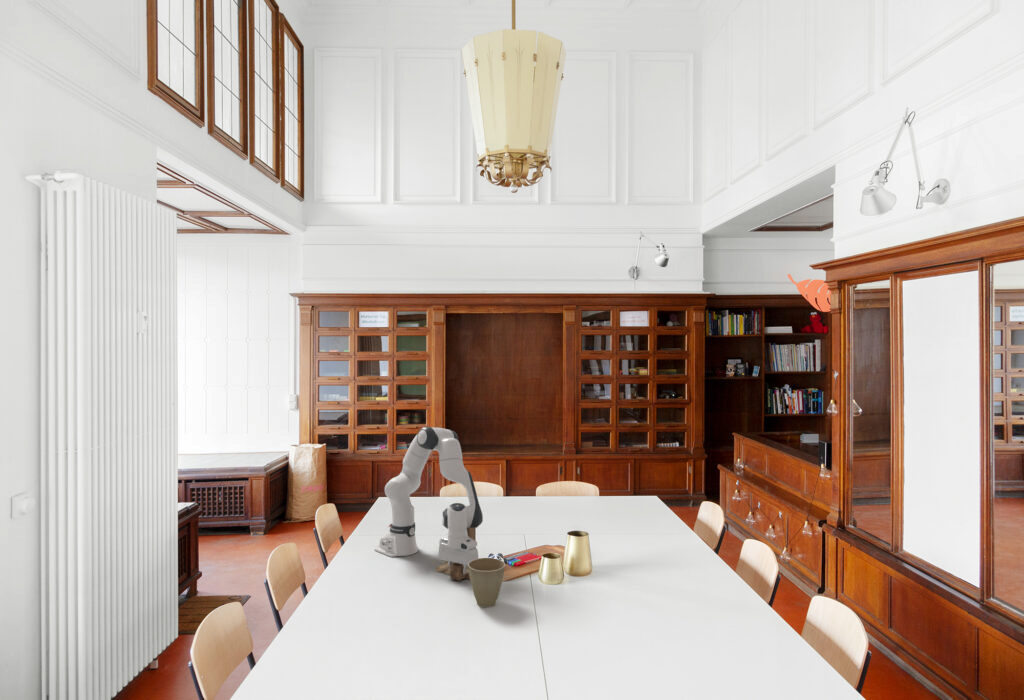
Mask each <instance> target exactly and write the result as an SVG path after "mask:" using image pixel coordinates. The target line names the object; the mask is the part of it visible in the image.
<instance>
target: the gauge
mask: <svg viewBox="0 0 1024 700" xmlns="http://www.w3.org/2000/svg"><path fill="white" fill-rule="evenodd" d="M462 569H464V567H463V564H459V563H453V564H451V565H450V574H449V578H450V580H451V579H452V580H455V581H458V582H459V581H461V580H463V579H466V578H465V577H466V574H462V573H461V570H462Z"/></svg>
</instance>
